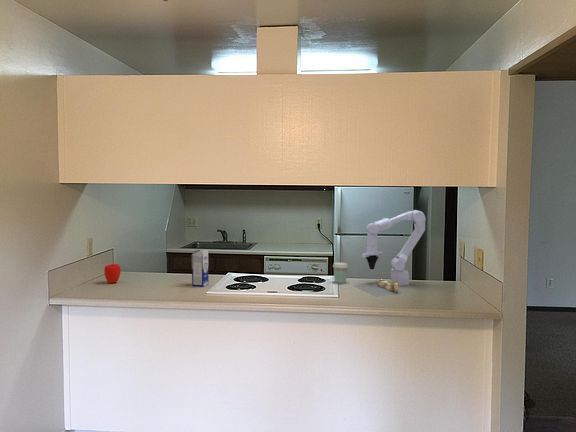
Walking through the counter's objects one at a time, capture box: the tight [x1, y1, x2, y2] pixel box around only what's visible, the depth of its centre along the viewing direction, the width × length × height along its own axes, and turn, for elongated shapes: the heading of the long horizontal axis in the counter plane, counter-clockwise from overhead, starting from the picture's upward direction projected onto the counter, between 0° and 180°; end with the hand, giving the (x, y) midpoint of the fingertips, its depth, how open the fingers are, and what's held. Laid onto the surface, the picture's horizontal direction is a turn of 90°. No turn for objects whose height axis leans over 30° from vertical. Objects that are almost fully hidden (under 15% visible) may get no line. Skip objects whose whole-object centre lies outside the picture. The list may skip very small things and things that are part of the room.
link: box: [376, 279, 394, 291], centre depth 241 cm, size 16×4×3 cm, turn 18°
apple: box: [103, 263, 122, 284], centre depth 257 cm, size 9×9×11 cm
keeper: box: [388, 280, 399, 295], centre depth 233 cm, size 6×2×5 cm, turn 15°
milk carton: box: [191, 249, 210, 288], centre depth 251 cm, size 7×7×20 cm
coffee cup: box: [332, 261, 349, 285], centre depth 255 cm, size 8×8×12 cm
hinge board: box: [353, 283, 407, 297], centre depth 239 cm, size 18×24×1 cm
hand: (371, 269), depth 252 cm, fingers closed
